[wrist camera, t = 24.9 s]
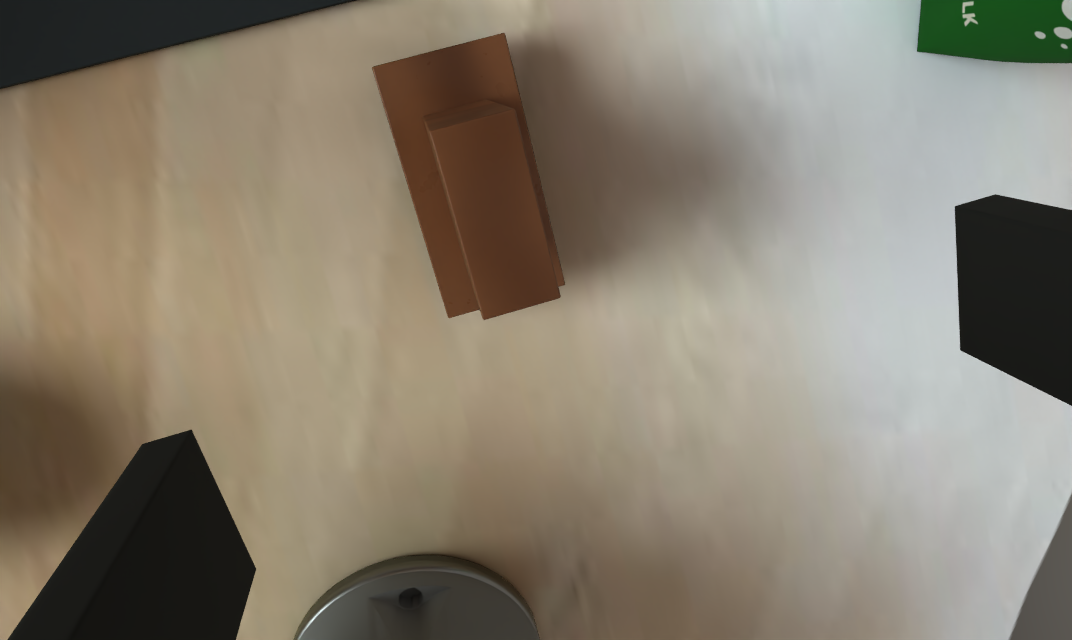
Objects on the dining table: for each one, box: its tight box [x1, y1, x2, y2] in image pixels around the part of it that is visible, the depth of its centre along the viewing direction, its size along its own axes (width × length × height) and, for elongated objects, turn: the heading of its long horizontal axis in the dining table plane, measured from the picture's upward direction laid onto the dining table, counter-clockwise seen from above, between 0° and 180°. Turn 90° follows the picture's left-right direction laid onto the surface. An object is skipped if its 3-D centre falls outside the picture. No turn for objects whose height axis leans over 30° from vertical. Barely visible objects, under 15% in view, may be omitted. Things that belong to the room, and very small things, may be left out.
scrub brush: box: [372, 33, 565, 320], centre depth 32 cm, size 6×12×12 cm, turn 14°
